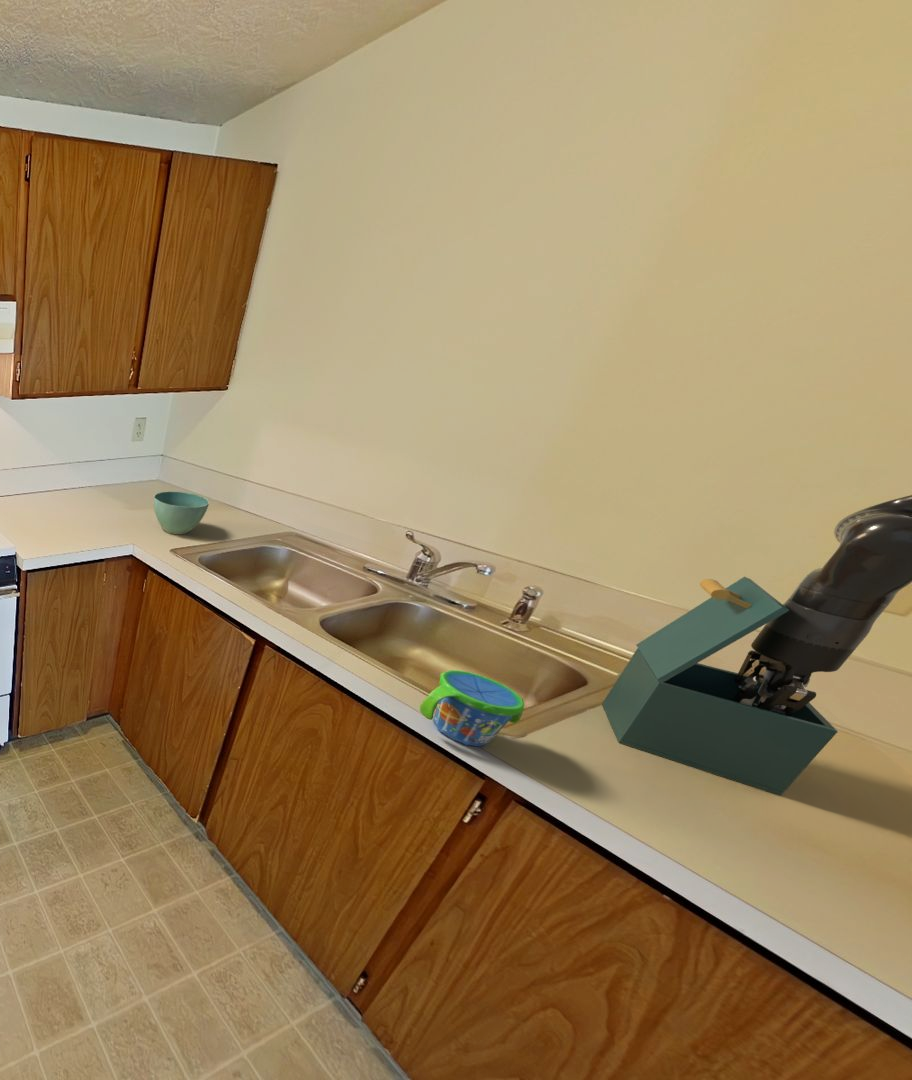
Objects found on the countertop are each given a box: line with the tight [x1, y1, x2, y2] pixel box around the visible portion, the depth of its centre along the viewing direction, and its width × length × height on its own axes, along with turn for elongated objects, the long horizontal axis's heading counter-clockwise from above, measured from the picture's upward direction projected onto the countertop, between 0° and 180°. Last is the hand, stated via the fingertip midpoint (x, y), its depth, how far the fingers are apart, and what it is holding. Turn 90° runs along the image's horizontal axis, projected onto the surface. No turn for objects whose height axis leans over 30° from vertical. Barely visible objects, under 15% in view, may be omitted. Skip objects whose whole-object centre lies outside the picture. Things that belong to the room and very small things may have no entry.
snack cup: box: [419, 669, 525, 747], centre depth 90 cm, size 16×10×10 cm
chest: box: [601, 647, 839, 797], centre depth 87 cm, size 17×14×13 cm
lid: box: [635, 576, 789, 682], centre depth 85 cm, size 18×14×5 cm
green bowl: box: [153, 490, 210, 535], centre depth 182 cm, size 18×18×12 cm
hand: (743, 719), depth 84 cm, fingers closed on eye dropper bottle, 4 cm apart
